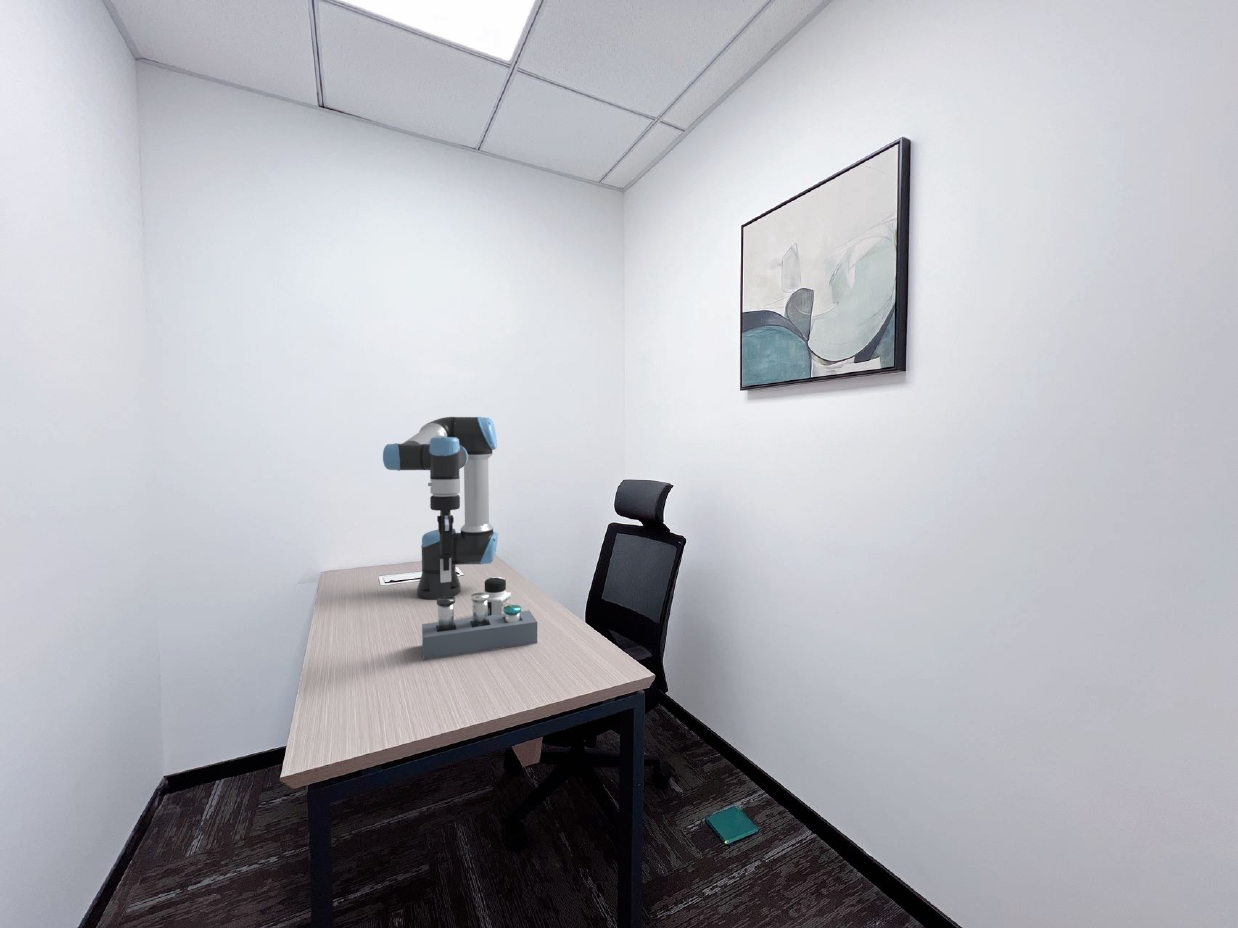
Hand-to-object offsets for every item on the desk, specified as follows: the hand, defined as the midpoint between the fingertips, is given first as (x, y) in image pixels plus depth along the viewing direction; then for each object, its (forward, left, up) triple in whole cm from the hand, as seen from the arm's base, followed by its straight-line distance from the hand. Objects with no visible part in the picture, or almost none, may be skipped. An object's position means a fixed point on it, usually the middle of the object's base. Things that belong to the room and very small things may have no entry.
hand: (445, 581), depth 137 cm
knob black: (0, 0, -13) cm, 13 cm away
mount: (0, +9, -19) cm, 21 cm away
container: (-18, +16, -19) cm, 31 cm away
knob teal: (0, +18, -18) cm, 26 cm away
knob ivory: (0, +9, -13) cm, 16 cm away
